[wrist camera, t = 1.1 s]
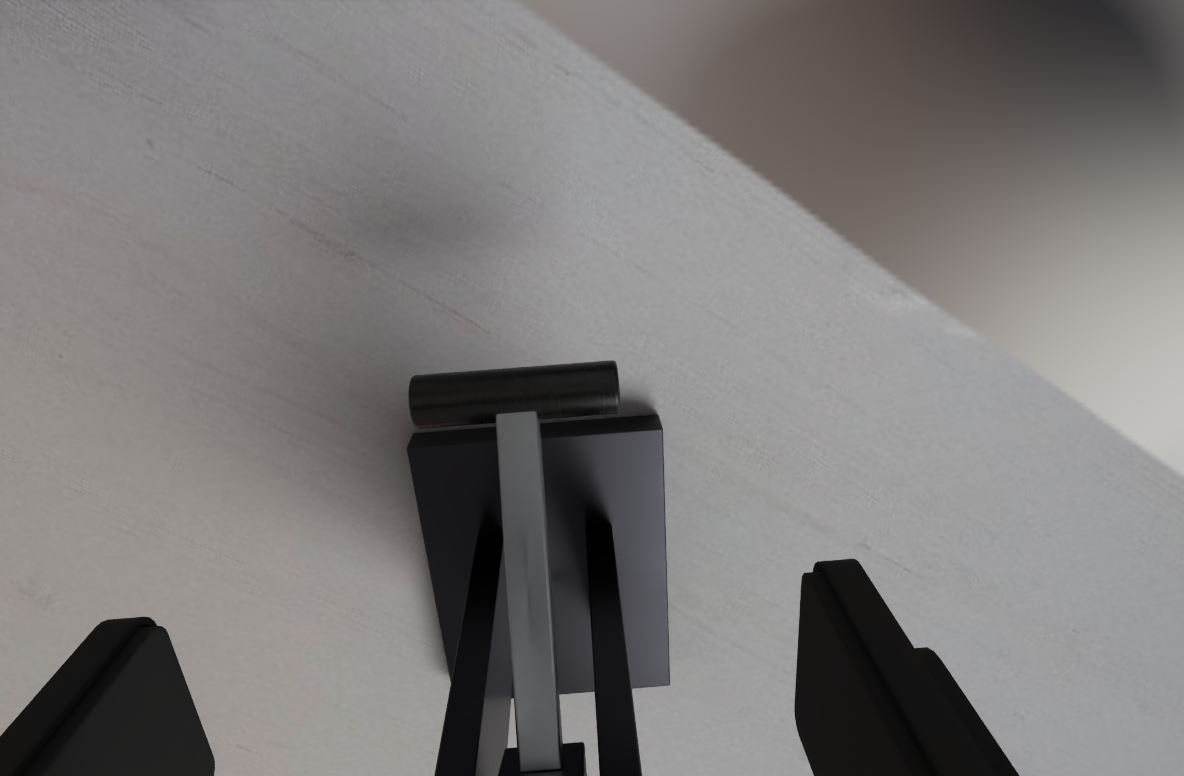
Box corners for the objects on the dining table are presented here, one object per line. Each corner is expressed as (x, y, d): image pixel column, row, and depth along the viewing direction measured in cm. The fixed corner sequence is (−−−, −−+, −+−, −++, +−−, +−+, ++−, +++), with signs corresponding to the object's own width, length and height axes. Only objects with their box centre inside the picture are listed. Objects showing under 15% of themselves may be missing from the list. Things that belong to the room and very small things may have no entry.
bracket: (412, 432, 26) (291, 720, 14) (658, 413, 26) (739, 683, 14) (458, 681, 31) (395, 1051, 19) (666, 664, 31) (732, 1021, 19)
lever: (422, 379, 20) (401, 371, 18) (614, 365, 21) (617, 354, 18) (450, 859, 19) (431, 917, 17) (652, 842, 19) (661, 897, 17)
